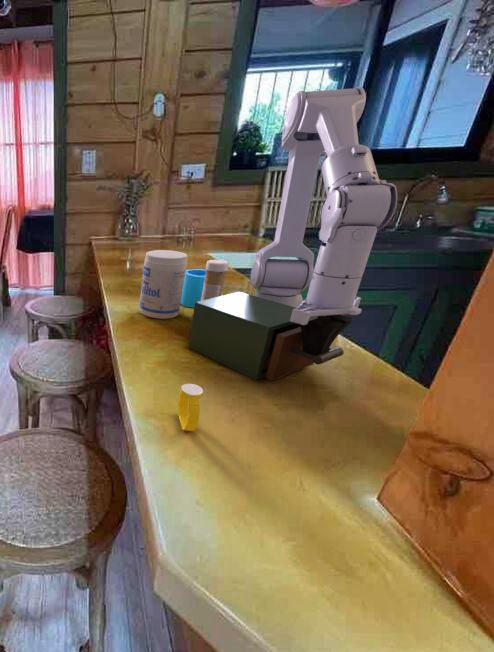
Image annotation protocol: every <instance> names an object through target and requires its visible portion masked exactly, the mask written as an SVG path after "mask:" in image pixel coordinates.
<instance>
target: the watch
mask: <svg viewBox="0 0 494 652" xmlns="http://www.w3.org/2000/svg"><path fill="white" fill-rule="evenodd" d="M203 395H204V390H203V388H202V387H201V386H199V385H198V384H195V383H184V384H182V385H181V387H180V390H179V396H178V405H177V406H178V408H177V409H178V410H177V411H178V419H179V423H180V426H181V430H182V431H189V432H195V431H196V430H197V428H198V426H199V420H200V414H201V413H200V409H201V407H200V406H201V404H200V399H201V398H202V397H203Z"/></svg>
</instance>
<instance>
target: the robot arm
mask: <svg viewBox="0 0 494 652" xmlns="http://www.w3.org/2000/svg"><path fill="white" fill-rule="evenodd" d="M366 100H367V94H366V91H365V89H364V87H362V86H356V87H354V88H341V89H340V88H339V89H325V90H312V91H311V90H310V91H305V90H299V91H298V92H297V93H296V94H295V95H294V96H293V97H292V98H291V100H290V103H289V106H288V108H287V110H286V113H285V118H284V123H283V129H282V134H281V147H280V148H282V149H284V150H286V151H288V161H287V169H286V174H285V180H284V185H283V190H282V196H281V201H280V207H279V211H278V212H279V213H278V218H277V223H276V229H275V234H274V239H273V242H271V243H269V244H267V245H266V246H264V247H262V248H261V249H259V250H258V251H257V252H256V254H255V259H254V261H253V264H252V266H251V270H250V279H249V280H250V284H251V286H252V288H253V289H255V295H254V296H256V297H260V298H263V299H267V300H270V301H274V302H277V303H281V304H285V305H288V306H292V307H295V309H293V311H292V315H291V319H290V321H291V322H294V323H298V324H299V325H300V327H301V331H302V336H303V351H305V352H307V353H310V354H313V355H315V356H316V355H318V354H321V353H324V352H326V351H328V349H329V347H331V346H332V344H333V343H334V341H335V340H336V338H337V337H338V336H339V335H340V334H341V333H342V332H343V331H344V330H345V329H346V328H347V327H348V326H350V325H351V323H352V320H353V317H351V316H357V315H360V314H361V313H362V308H359V305H360V303H361V299H362V297H360V296H357V293H358V291H359V288H360V285H361V281H362V278H363V275H364V273H365V269H366V267H367V263H368V260H369V257H370V254H371V251H372V248H373V245H374V242H375V239H376V236H377V233H378V230H381V229H383V228H384V227H386V225H388V223H390V221H391V220H392V218H393V216H394V215H395V212H396V208H397V205H398V192H397V191H398V190H397V186H396V185H395V184H394V183H391V182H387V180H386V179H380V177H379V174H378V171H377V167H376V164H375V161H374V158H373V154H372V151H371V149H370V148H369V146H367V145H364V144H360V142H359V135H358V126H357V123H359V121H360V119H361V117H362V114H363V112H364V109H365V106H366ZM324 151H325V154H326V156H327V157H326V158H325V159H324V161H323V162H322V165H321V175H322V179H323V184H324V189H325V190H324V191H325V195H326V199H325V201H324V204H323V205H322V207H321V208H322V209H321V216H320V222H321V223H320V224H321V225H320V229H319V234H318V235H319V237H318V239H319V240H320V241H321V243H320V246H319V250H318V254H317V257H316V261H315V265H314V260H315V253H314V252H313V251H312V250H311V249H309V247H307V246H306V245H305V244H304V243H303V242H304V237H305V233H306V228H307V223H308V217H309V212H310V207H311V204H312V198H313V193H314V188H315V183H316V177H317V173H318V169H319V163H320V158H321V155H322V154H323V153H324ZM289 258H296V259H289ZM307 289H308V290H307ZM305 290H307V294H306V298H305V299H303V296H302V294H301V293H302V292H305ZM346 315H350V316H346ZM306 358H307V357H306ZM308 359H309V358H308ZM311 360H312V359H311Z"/></svg>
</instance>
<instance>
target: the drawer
mask: <svg viewBox="0 0 494 652" xmlns="http://www.w3.org/2000/svg"><path fill="white" fill-rule="evenodd" d="M344 353H345V351H344V349H343V348H342V347H339V346H337V347H331V346H330V347H329V349H328V351H326V352H324V353H321V354H318V355H316V356H315V355H313V354H310V353H307V352H305V351H303V336H302V331H301V327H300V325H299V324H298V323H295V324H292V325H289V326H286V327H283V328H279V329H276V330H273V331H271V334H270V338H269V342H268V346H267V350H266V354H265V358H264V362H263V366H262V369H261V371H264V370H266V369H268V371H267V375H266V376H265V378H266V379H268V380H271V381H276V380H278V379H280V378H284V377H285V376H288V375H290V374H293V373H295V372H297V371H299V370H302V369H306V368H307V367H311V366H312V365H319V366H320V365H322V364H324V363H327V362H329V361H331V360H334V359H336V358H339V357H341V356H343V355H344ZM306 357H307V358H306ZM308 358H309V359H308ZM311 359H312V360H311Z"/></svg>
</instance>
